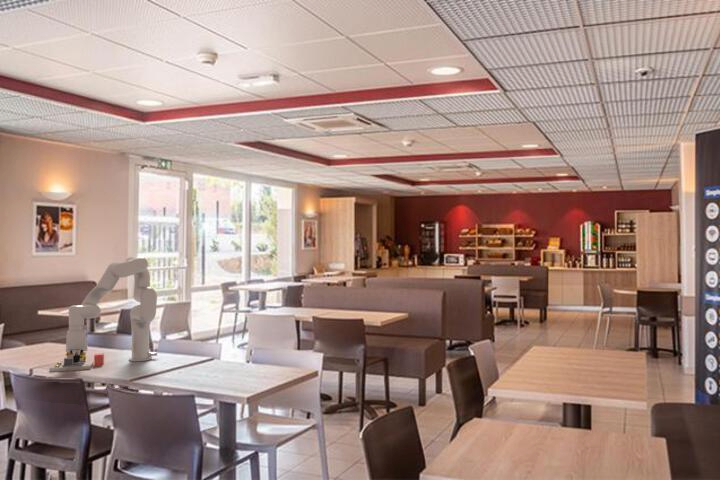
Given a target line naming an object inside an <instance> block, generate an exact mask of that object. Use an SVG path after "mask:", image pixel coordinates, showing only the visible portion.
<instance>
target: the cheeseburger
mask: <svg viewBox="0 0 720 480" xmlns="http://www.w3.org/2000/svg"><path fill="white" fill-rule="evenodd" d="M81 350H82V349H81ZM76 354H78V350H76ZM69 355H73V354H71V353H70V352H66V354H65V356H66V357H67V356H69ZM84 360H86V361H87V353H86V351H84V352H82V353H81V354H80V361H84Z"/></svg>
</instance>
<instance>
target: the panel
mask: <svg viewBox="0 0 720 480" xmlns="http://www.w3.org/2000/svg"><path fill="white" fill-rule="evenodd" d="M92 366H93V367H94V361H87V359H86V360H84V361H79V362H78V363H77V362H76V363H73V365H64V362H60V361H59V362H55V363H53V364H52V365H51V366H50V367H49V373H51V372H52V373H53V372H67V371H66V370H73V371H81V370H80V369H89V370H92V368H93V367H92ZM91 367H92V368H91Z"/></svg>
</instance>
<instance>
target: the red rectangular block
mask: <svg viewBox="0 0 720 480" xmlns="http://www.w3.org/2000/svg"><path fill="white" fill-rule="evenodd" d="M93 357H94V359H93V360H94V365H93V367H99V366H100V367H102V365H103V366H104V365H105V353H104V352H103V353H102V352H101V353H95V354H94V356H93Z"/></svg>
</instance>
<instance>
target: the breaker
mask: <svg viewBox="0 0 720 480" xmlns="http://www.w3.org/2000/svg"><path fill="white" fill-rule="evenodd" d="M63 363H64V365H73V357H69V358H67V357H64V358H63Z"/></svg>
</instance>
